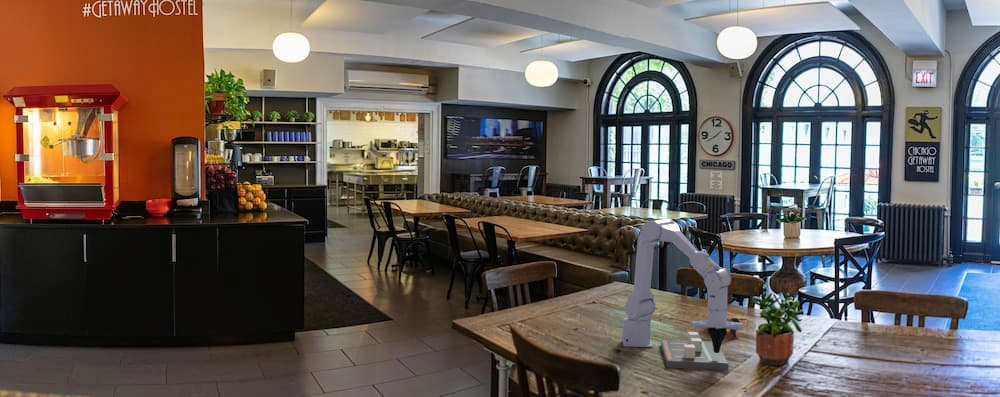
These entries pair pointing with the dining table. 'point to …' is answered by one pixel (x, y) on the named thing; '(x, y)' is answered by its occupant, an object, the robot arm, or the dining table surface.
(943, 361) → the dining table surface
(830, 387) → the dining table surface
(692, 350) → the block
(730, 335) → the pottery mug
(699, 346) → the block
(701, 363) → the panel
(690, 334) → the block
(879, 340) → the dining table surface
